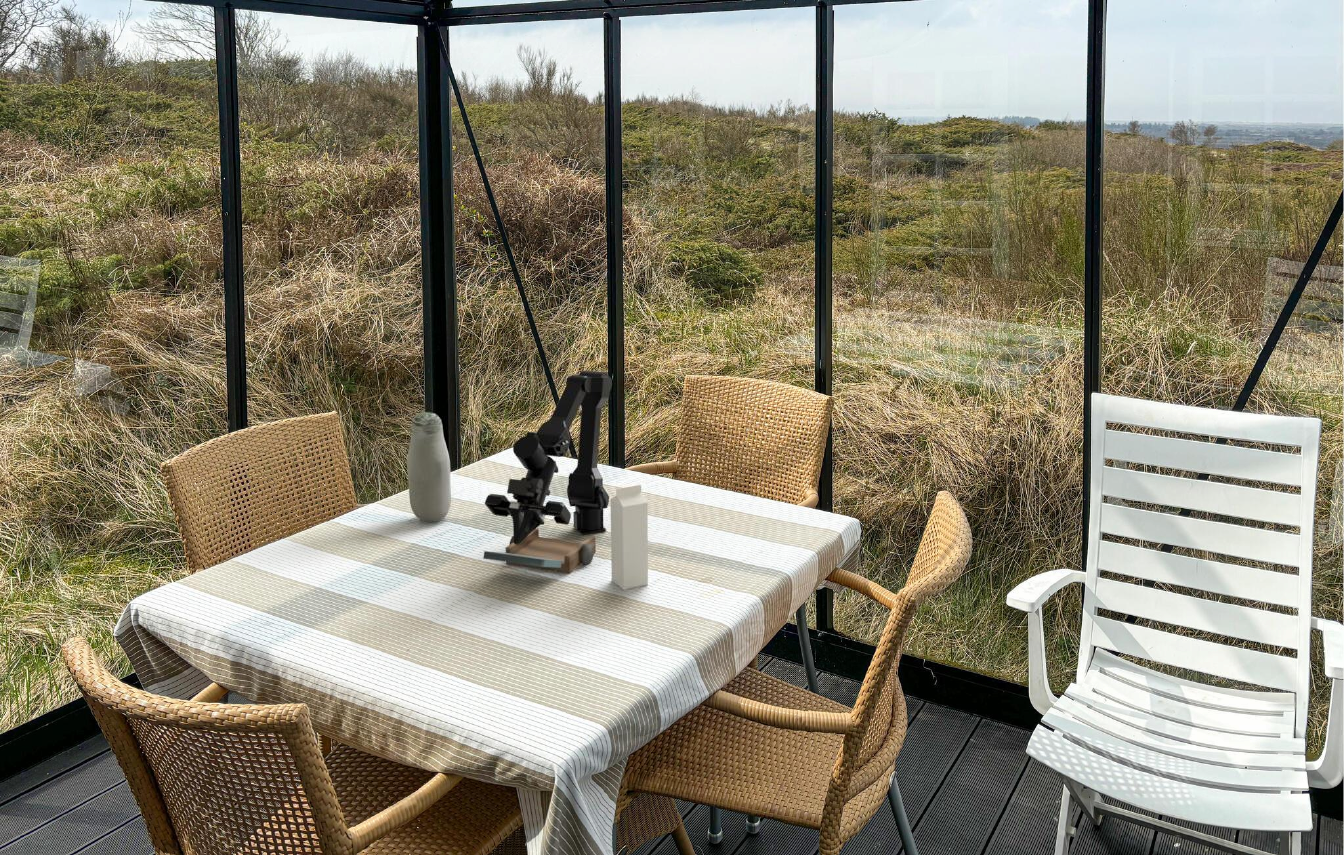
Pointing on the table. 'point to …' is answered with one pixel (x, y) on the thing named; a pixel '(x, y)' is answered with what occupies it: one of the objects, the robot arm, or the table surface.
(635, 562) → the milk
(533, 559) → the panel
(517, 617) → the table surface
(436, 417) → the grey bottle
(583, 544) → the trailer
